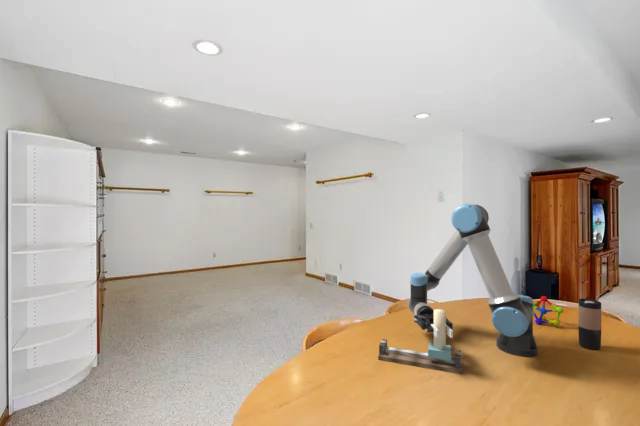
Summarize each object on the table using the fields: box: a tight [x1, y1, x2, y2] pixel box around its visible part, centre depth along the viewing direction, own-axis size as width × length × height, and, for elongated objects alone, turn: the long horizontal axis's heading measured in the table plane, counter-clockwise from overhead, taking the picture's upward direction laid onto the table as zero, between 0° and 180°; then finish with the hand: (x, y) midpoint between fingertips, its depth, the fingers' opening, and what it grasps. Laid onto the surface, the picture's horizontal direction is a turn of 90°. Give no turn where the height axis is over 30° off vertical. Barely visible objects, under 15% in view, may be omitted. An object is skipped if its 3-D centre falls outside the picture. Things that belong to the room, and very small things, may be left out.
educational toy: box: [533, 295, 564, 327], centre depth 164 cm, size 16×13×15 cm
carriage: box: [427, 308, 452, 361], centre depth 120 cm, size 8×7×17 cm
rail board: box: [377, 338, 463, 375], centre depth 123 cm, size 30×10×5 cm, turn 69°
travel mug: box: [577, 298, 602, 352], centre depth 136 cm, size 8×8×20 cm
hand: (444, 334), depth 115 cm, fingers closed on carriage, 4 cm apart
